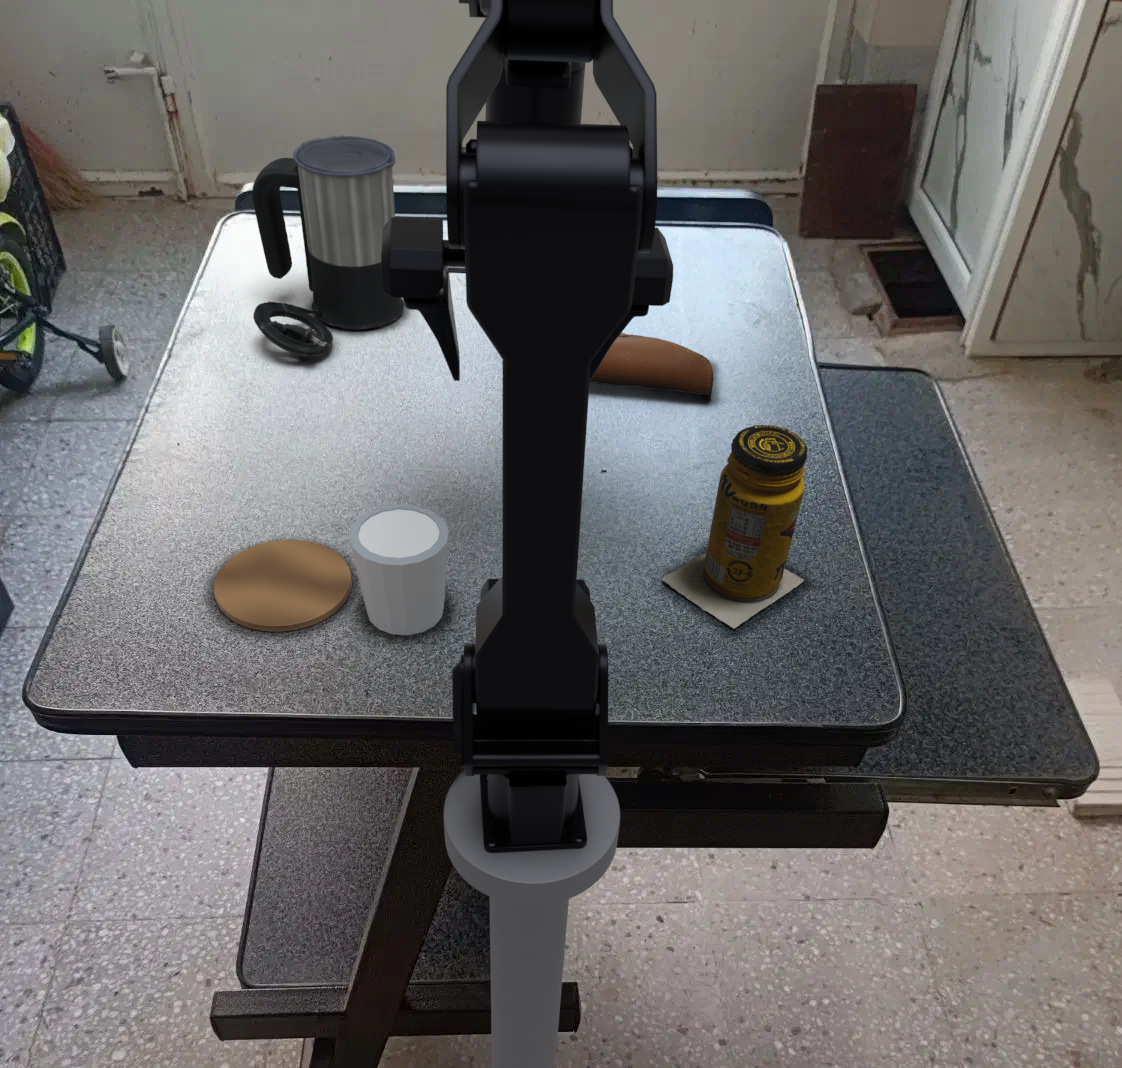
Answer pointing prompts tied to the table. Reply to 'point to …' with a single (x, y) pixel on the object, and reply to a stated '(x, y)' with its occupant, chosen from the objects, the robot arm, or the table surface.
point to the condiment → (749, 528)
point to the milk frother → (329, 238)
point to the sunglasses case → (654, 366)
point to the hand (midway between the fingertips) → (521, 379)
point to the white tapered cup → (401, 566)
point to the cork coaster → (282, 585)
